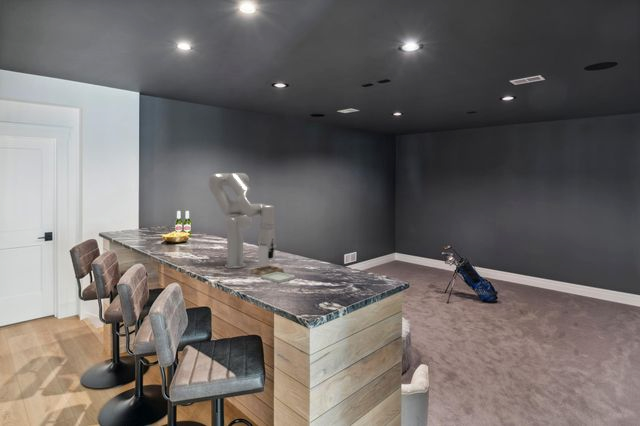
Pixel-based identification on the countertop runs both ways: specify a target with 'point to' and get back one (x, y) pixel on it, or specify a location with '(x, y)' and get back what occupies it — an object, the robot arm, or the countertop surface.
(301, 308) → the countertop surface
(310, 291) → the countertop surface
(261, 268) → the holder frame
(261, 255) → the mug
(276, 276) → the tray
